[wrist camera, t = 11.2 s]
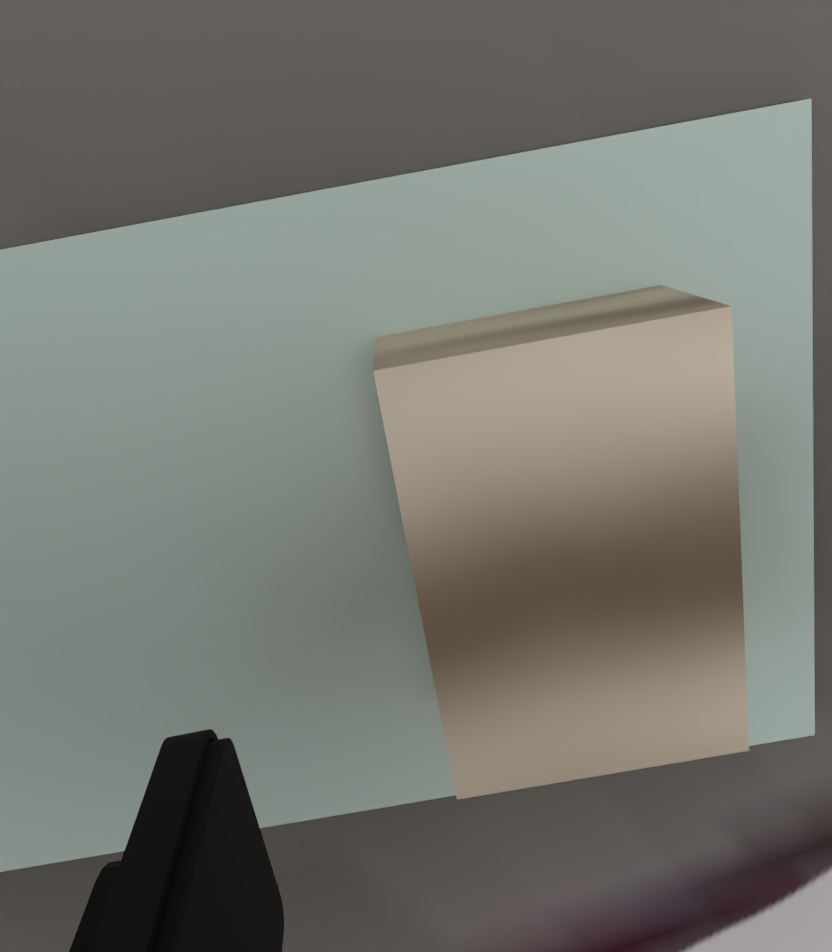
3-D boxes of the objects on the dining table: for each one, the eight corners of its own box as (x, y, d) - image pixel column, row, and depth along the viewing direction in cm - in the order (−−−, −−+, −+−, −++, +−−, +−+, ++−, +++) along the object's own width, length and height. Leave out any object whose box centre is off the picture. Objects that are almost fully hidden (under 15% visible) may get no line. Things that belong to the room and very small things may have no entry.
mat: (-13, 863, 21) (-21, 875, 21) (-272, 300, 16) (-288, 303, 16) (806, 725, 20) (814, 734, 20) (800, 100, 16) (811, 98, 15)
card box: (375, 336, 16) (373, 371, 13) (660, 284, 16) (731, 305, 13) (444, 697, 19) (457, 799, 16) (686, 655, 19) (748, 750, 16)
